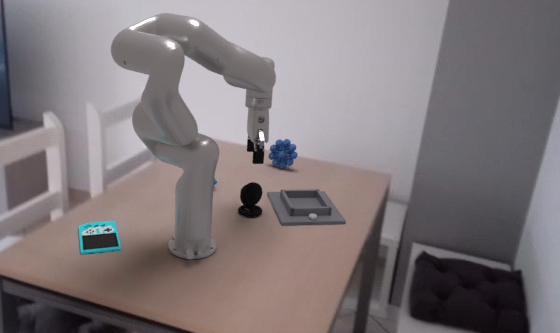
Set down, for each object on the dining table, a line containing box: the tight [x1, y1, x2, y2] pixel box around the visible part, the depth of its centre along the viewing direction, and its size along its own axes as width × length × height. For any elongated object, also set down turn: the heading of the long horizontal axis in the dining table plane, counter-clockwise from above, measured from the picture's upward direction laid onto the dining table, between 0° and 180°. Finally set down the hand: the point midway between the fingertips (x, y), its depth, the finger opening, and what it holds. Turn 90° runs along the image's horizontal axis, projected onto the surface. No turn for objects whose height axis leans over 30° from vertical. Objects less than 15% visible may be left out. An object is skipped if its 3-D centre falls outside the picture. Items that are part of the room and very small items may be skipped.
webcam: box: [237, 181, 263, 219], centre depth 164 cm, size 8×8×10 cm
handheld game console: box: [77, 220, 122, 255], centre depth 144 cm, size 10×16×1 cm, turn 22°
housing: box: [266, 188, 347, 226], centre depth 171 cm, size 22×20×4 cm
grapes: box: [268, 138, 298, 170], centre depth 201 cm, size 12×7×12 cm, turn 64°
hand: (254, 157), depth 159 cm, fingers open, 9 cm apart
